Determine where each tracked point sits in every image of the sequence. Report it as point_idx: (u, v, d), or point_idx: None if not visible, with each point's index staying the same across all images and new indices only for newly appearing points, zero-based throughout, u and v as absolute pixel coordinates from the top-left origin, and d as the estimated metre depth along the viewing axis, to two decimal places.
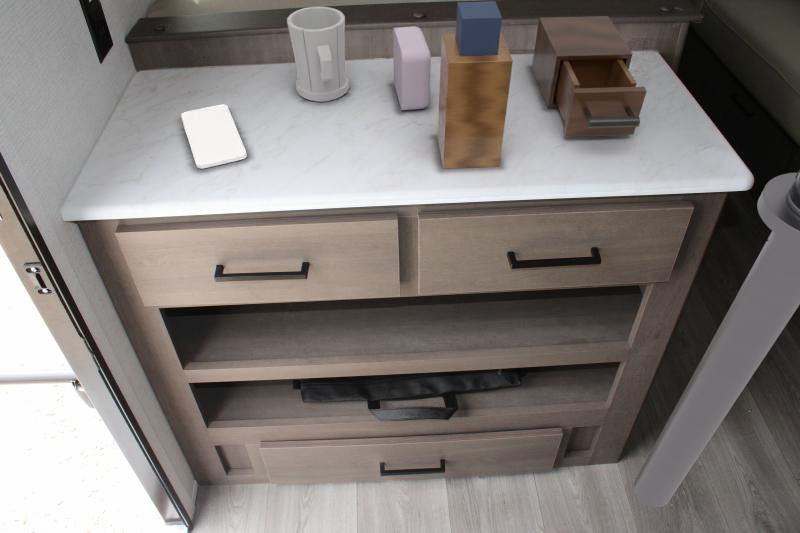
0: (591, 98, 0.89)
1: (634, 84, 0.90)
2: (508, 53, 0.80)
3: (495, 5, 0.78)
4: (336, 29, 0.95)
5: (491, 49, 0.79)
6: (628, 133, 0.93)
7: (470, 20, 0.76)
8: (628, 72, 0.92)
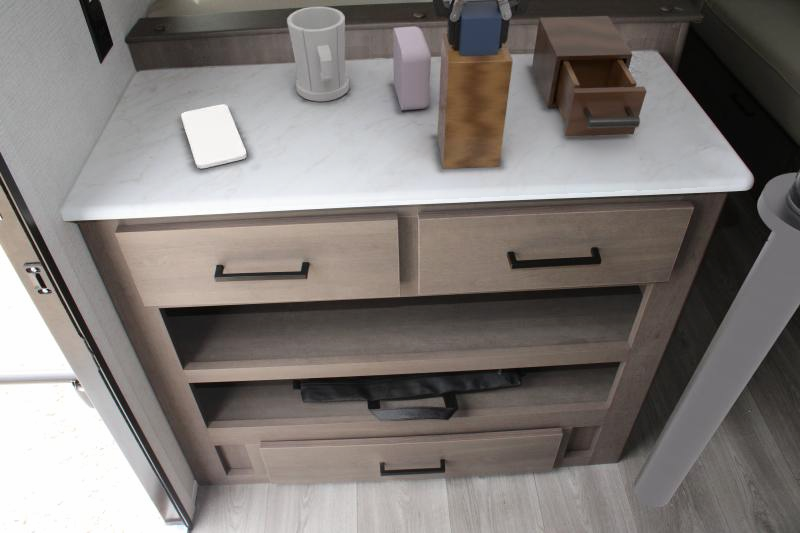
0: (591, 98, 0.89)
1: (634, 84, 0.90)
2: (508, 53, 0.80)
3: (495, 5, 0.78)
4: (336, 29, 0.95)
5: (491, 49, 0.79)
6: (628, 133, 0.93)
7: (470, 20, 0.76)
8: (628, 72, 0.92)
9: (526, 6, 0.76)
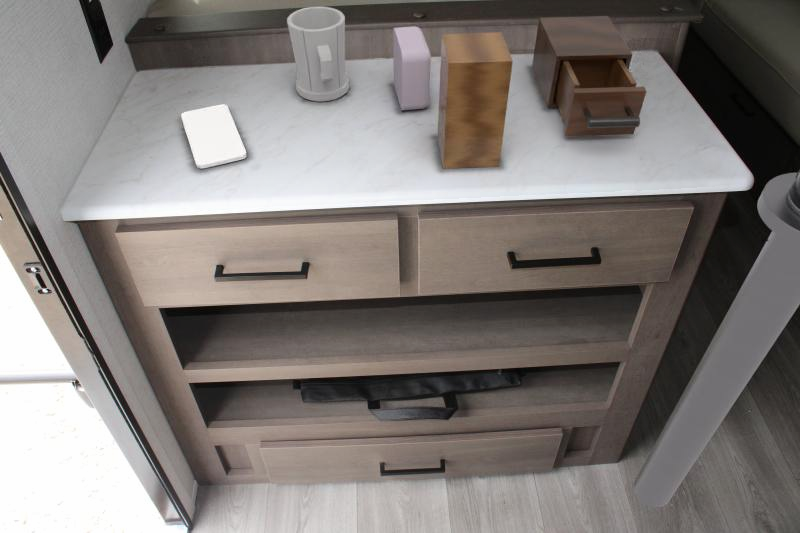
0: (591, 98, 0.89)
1: (634, 84, 0.90)
2: (508, 53, 0.80)
3: None
4: (336, 29, 0.95)
5: None
6: (628, 133, 0.93)
7: None
8: (628, 72, 0.92)
9: None
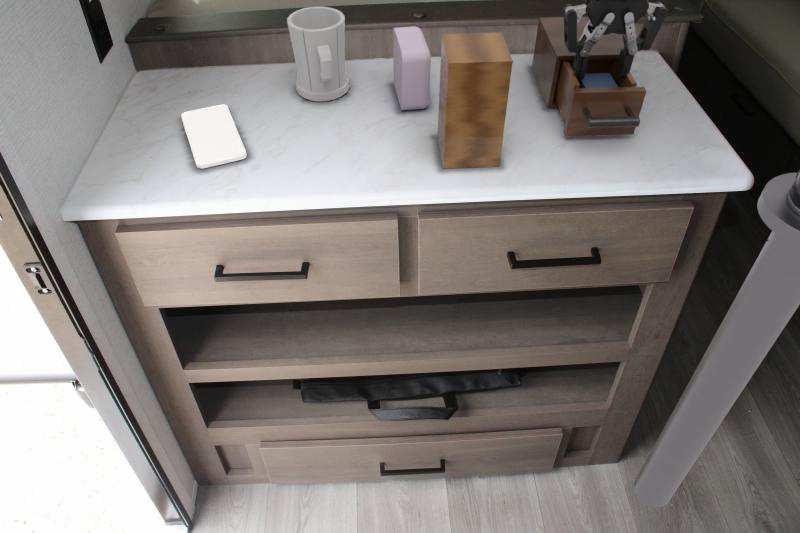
0: (591, 98, 0.89)
1: (634, 84, 0.90)
2: (508, 53, 0.80)
3: (610, 77, 0.94)
4: (336, 29, 0.95)
5: None
6: (628, 133, 0.93)
7: None
8: None
9: (651, 43, 0.88)
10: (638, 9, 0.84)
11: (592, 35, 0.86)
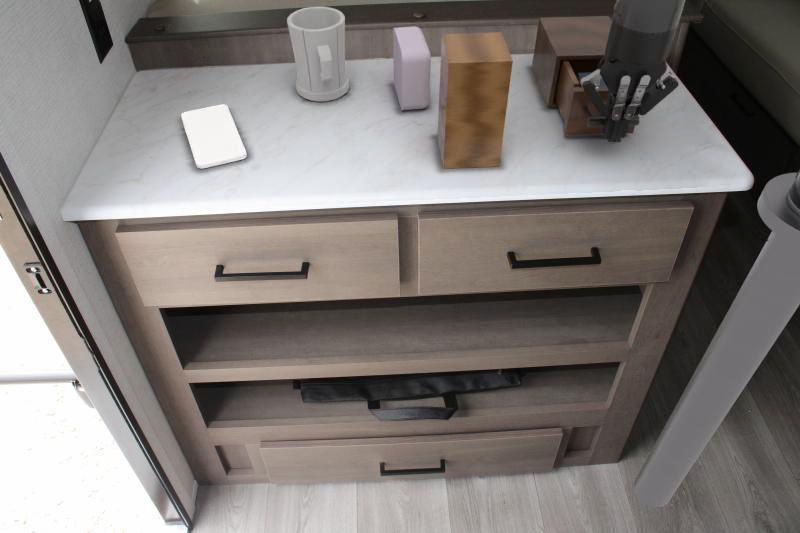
0: None
1: None
2: (508, 53, 0.80)
3: None
4: (336, 29, 0.95)
5: None
6: (627, 132, 0.93)
7: None
8: None
9: (648, 110, 0.83)
10: (656, 70, 0.79)
11: (615, 101, 0.82)
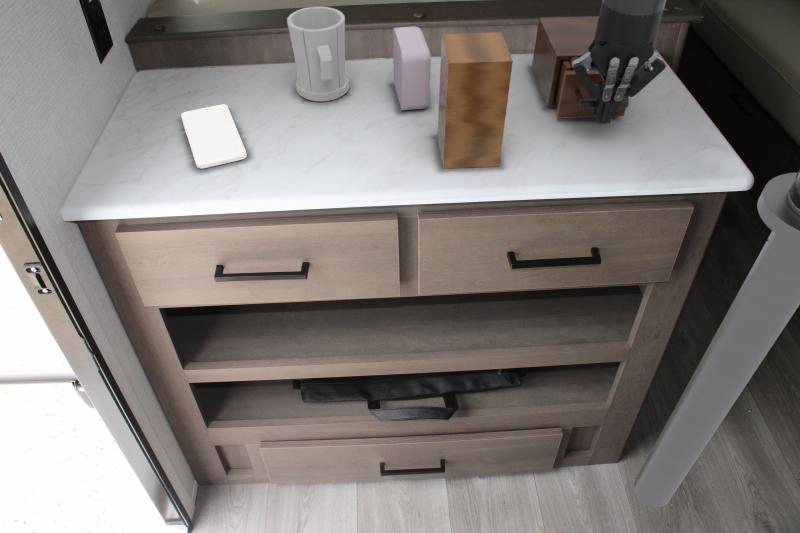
0: None
1: None
2: (508, 53, 0.80)
3: None
4: (336, 29, 0.95)
5: None
6: (618, 114, 0.97)
7: None
8: None
9: (637, 92, 0.87)
10: (644, 52, 0.83)
11: (605, 82, 0.85)
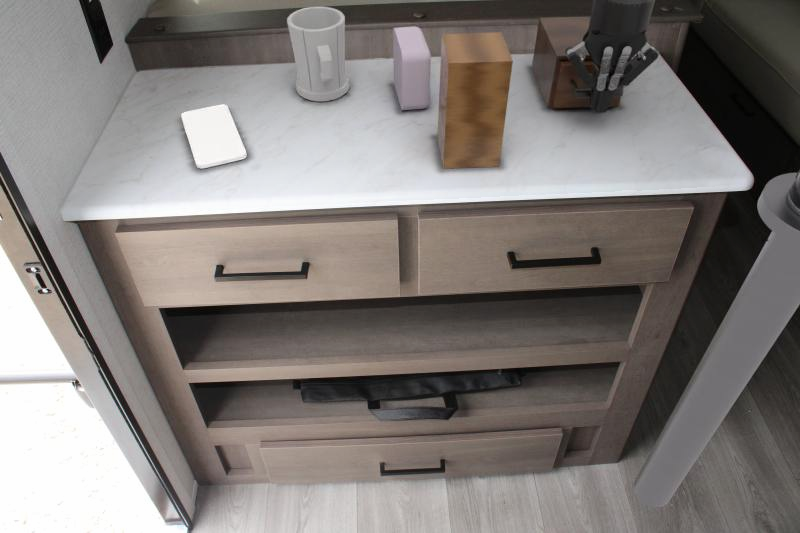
0: None
1: None
2: (508, 53, 0.80)
3: None
4: (336, 29, 0.95)
5: None
6: (613, 105, 0.99)
7: None
8: None
9: (630, 81, 0.89)
10: (636, 42, 0.85)
11: (599, 71, 0.87)
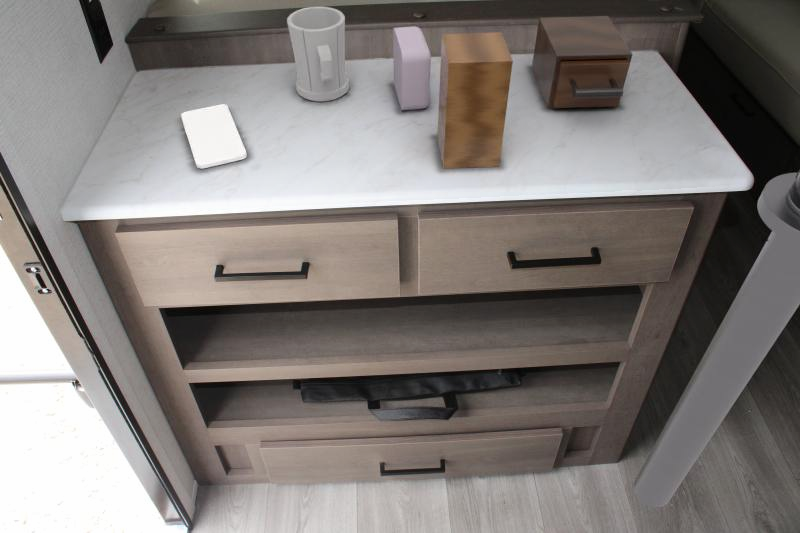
0: (577, 70, 0.94)
1: None
2: (508, 53, 0.80)
3: None
4: (336, 29, 0.95)
5: None
6: (613, 105, 0.99)
7: None
8: None
9: None
10: None
11: None
